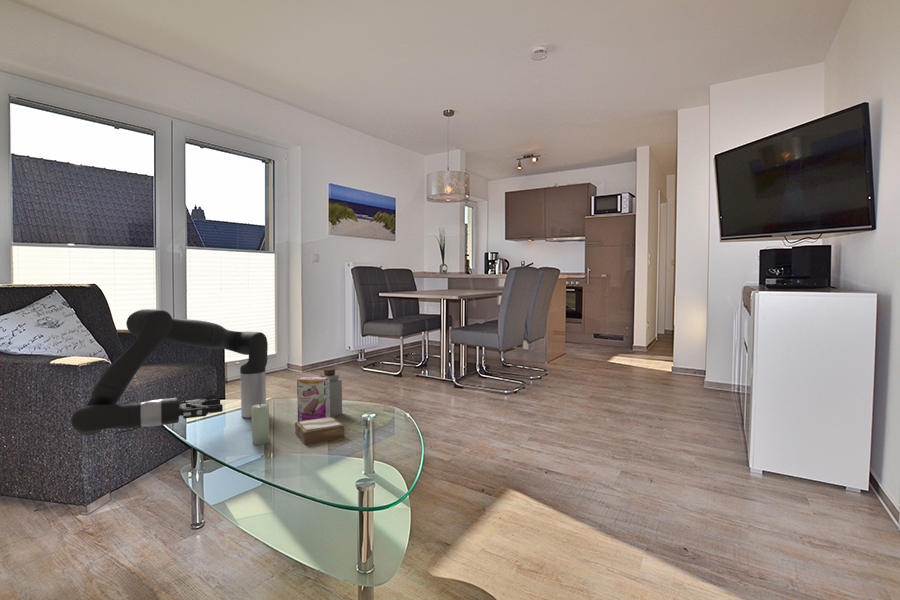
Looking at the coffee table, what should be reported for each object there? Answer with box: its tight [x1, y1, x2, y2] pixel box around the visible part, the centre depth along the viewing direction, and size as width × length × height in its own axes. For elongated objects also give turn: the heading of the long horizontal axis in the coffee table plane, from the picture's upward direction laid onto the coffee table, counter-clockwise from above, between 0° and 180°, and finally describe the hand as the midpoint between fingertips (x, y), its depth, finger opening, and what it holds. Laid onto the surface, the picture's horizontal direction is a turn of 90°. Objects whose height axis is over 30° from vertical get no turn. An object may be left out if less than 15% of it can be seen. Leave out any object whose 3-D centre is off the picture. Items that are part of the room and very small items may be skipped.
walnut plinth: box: [294, 416, 345, 446], centre depth 154 cm, size 13×13×4 cm
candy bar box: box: [296, 376, 330, 422], centre depth 171 cm, size 11×5×16 cm, turn 84°
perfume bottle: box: [319, 367, 343, 417], centre depth 180 cm, size 7×7×18 cm
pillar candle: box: [251, 403, 270, 446], centre depth 148 cm, size 5×5×13 cm
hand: (221, 404), depth 142 cm, fingers open, 8 cm apart
